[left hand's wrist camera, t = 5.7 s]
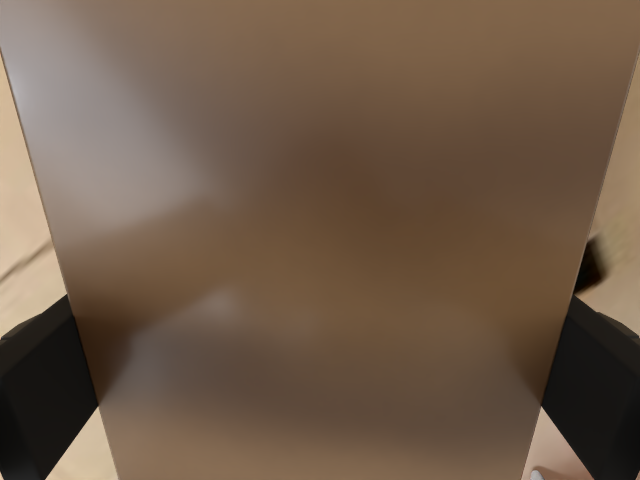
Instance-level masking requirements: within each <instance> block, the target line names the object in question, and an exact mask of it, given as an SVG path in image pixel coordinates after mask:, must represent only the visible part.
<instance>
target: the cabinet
mask: <svg viewBox="0 0 640 480" xmlns="http://www.w3.org/2000/svg"><path fill="white" fill-rule="evenodd" d="M639 52H640V0H0V54H1V57H2V61H3V64H4V68H5V72H6V75H7V79H8V82H9V86H10V90H11V93H12V97H13V100H14V104H15V108H16V111H17V115H18V118H19V122H20V126H21V129H22V133H23V137H24V140H25V144H26V147H27V151H28V155H29V158H30V162H31V165H32V169H33V173H34V176H35V180H36V183H37V187H38V191H39V194H40V198H41V201H42V205H43V209H44V212H45V216H46V219H47V223H48V227H49V230H50V234H51V237H52V241H53V245H54V248H55V252H56V255H57V259H58V263H59V266H60V270H61V273H62V277H63V281H64V284H65V288H66V291H67V295H68V299H69V302H70V306H71V309H72V313H73V317H74V320H75V324H76V327H77V331H78V335H79V338H80V342H81V345H82V349H83V353H84V356H85V360H86V364H87V367H88V371H89V374H90V378H91V382H92V385H93V389H94V392H95V396H96V400H97V403H98V407H99V410H100V414H101V418H102V421H103V425H104V428H105V432H106V436H107V439H108V443H109V446H110V450H111V454H112V457H113V461H114V464H115V468H116V472H117V475H118V479H119V480H521V477H522V474H523V470H524V467H525V463H526V459H527V456H528V452H529V449H530V445H531V441H532V438H533V434H534V430H535V427H536V423H537V420H538V416H539V412H540V409H541V405H542V402H543V398H544V394H545V391H546V387H547V384H548V380H549V376H550V373H551V369H552V366H553V362H554V358H555V355H556V351H557V348H558V344H559V340H560V337H561V333H562V330H563V326H564V322H565V319H566V315H567V312H568V308H569V304H570V301H571V297H572V294H573V290H574V286H575V283H576V279H577V276H578V272H579V268H580V265H581V261H582V257H583V254H584V250H585V247H586V243H587V239H588V236H589V232H590V229H591V225H592V221H593V218H594V214H595V211H596V207H597V203H598V200H599V196H600V193H601V189H602V185H603V182H604V178H605V175H606V171H607V167H608V164H609V160H610V157H611V153H612V149H613V146H614V142H615V139H616V135H617V131H618V128H619V124H620V121H621V117H622V113H623V110H624V106H625V103H626V99H627V95H628V92H629V88H630V84H631V81H632V77H633V74H634V70H635V66H636V63H637V59H638V56H639Z"/></svg>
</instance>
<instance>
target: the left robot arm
mask: <svg viewBox="0 0 640 480" xmlns="http://www.w3.org/2000/svg"><path fill="white" fill-rule="evenodd" d="M541 406H542V408H543V409H544V410H545V412H546V413H547V414H548V416H549V417H550V419H551V420H552V421H553V423H554V424H555V426H556V427H557V428H558V430H559V431H560V433H561V434H562V435H563V437H564V438H565V439H566V441H567V442H568V444H569V445H570V446H571V448H572V449H573V451H574V452H575V453H576V455H577V456H578V457H579V459H580V460H581V462H582V463H583V464H584V466H585V467H586V469H587V470H588V471H589V473H590V474H591V476H592V477H593V478H594V480H636V478H637V475H638V473H639V471H640V338H639V336H638V335H637V334H636V333H634V332H633V331H632V330H630V329H629V328H628V327H626V326H625V325H624V324H622V323H620V322H618V321H616V320H614V319H612V318H610V317H608V316H606V315H604V314H602V313H600V312H595V311H594V310H593V309H591V308H590V307H589V306H588V305H586V304H585V303H584V302H582V301H581V300H580V299H579V298H577V297H576V296H575V295H573V294H572V297H571V301H570V304H569V308H568V312H567V315H566V319H565V322H564V326H563V330H562V333H561V337H560V340H559V344H558V348H557V351H556V355H555V358H554V362H553V366H552V369H551V373H550V376H549V380H548V384H547V387H546V391H545V394H544V398H543V402H542V405H541ZM97 407H98V403H97V400H96V396H95V392H94V389H93V385H92V382H91V378H90V374H89V371H88V367H87V364H86V360H85V356H84V353H83V349H82V345H81V342H80V338H79V335H78V331H77V327H76V324H75V320H74V317H73V313H72V309H71V306H70V302H69V299H68V295H67V294H66V295H65V296H64V297H62V298H61V299H60V300H58V301H57V302H56V303H55V304H53V305H52V306H51V307H49V308H48V309H47V310H45V311H44V312H43V313H42V314H39V315H37V316H35V317H33V318H31V319H29V320H27V321H25V322H22V323H20V324H18V325H17V326H16V327H14V328H13V329H12V330H10V331H9V332H8V333H6V334H5V335H4V336H2V337H1V340H0V472H1V474H2V477H3V479H4V480H45V479H46V478H47V476H48V475H49V474H50V472H51V471H52V469H53V468H54V467H55V465H56V464H57V462H58V461H59V460H60V458H61V457H62V456H63V454H64V453H65V451H66V450H67V449H68V447H69V446H70V444H71V443H72V442H73V440H74V439H75V437H76V436H77V435H78V433H79V432H80V431H81V429H82V428H83V426H84V425H85V424H86V422H87V421H88V419H89V418H90V417H91V415H92V414H93V413H94V411H95V410H96V408H97Z"/></svg>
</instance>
